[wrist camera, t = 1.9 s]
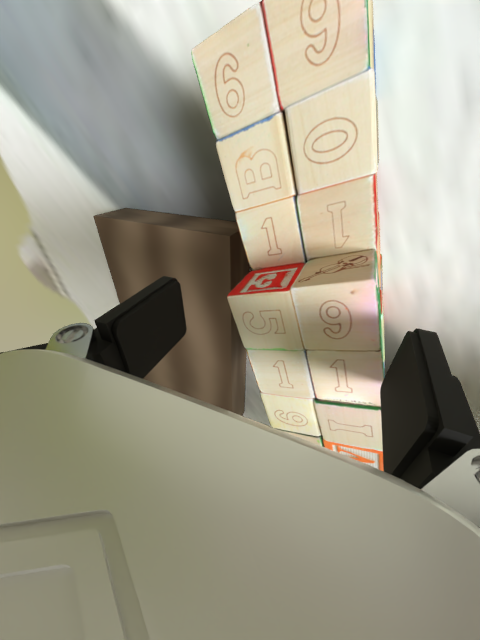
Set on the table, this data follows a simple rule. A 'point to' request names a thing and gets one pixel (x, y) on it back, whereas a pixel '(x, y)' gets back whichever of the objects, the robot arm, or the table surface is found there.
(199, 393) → the plinth
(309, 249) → the stack of blocks
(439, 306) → the table surface
